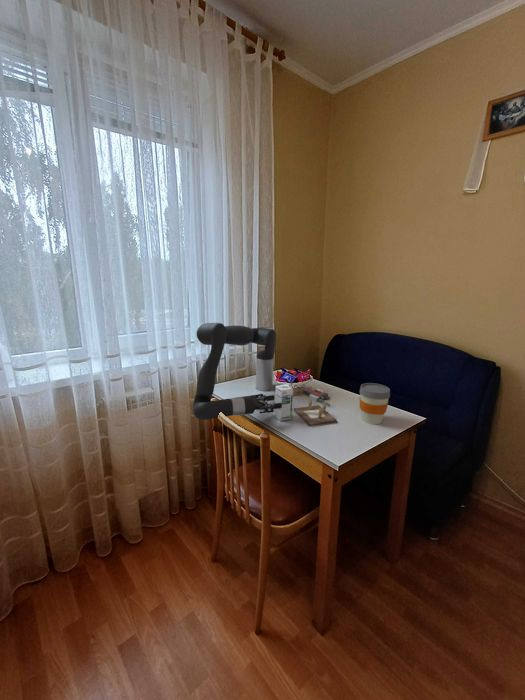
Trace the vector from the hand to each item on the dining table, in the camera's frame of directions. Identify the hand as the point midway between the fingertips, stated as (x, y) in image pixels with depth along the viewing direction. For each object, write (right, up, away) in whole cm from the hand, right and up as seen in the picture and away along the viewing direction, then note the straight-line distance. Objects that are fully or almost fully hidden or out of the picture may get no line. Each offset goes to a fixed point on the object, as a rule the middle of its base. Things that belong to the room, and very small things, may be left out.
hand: (277, 401), depth 138 cm
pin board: (+17, -8, +5) cm, 19 cm away
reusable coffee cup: (+42, -9, +3) cm, 43 cm away
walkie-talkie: (+22, -3, +25) cm, 34 cm away
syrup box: (+2, -8, +3) cm, 9 cm away
